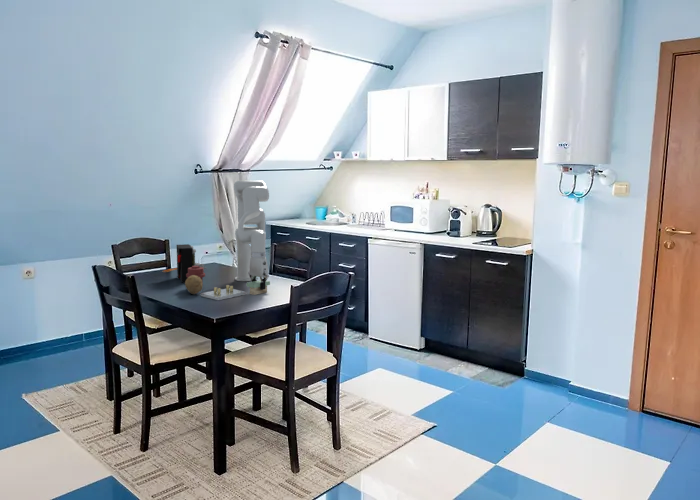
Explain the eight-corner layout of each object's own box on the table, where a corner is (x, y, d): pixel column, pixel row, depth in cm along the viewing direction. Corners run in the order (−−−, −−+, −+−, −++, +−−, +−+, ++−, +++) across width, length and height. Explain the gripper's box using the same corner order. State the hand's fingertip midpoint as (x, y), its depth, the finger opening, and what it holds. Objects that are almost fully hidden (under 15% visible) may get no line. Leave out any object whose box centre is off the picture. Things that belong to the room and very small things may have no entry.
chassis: (228, 290, 295) (228, 282, 294) (245, 294, 286) (245, 286, 285) (200, 296, 281) (200, 287, 280) (217, 300, 272) (217, 291, 272)
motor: (188, 267, 366) (187, 260, 365) (210, 271, 353) (209, 263, 352) (158, 277, 348) (157, 270, 347) (180, 282, 335) (179, 274, 334)
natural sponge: (187, 292, 290) (186, 273, 289) (204, 292, 291) (204, 273, 290) (183, 295, 281) (183, 276, 280) (201, 295, 282) (201, 276, 281)
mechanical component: (193, 286, 306) (208, 287, 303) (183, 289, 296) (199, 290, 294) (192, 264, 304) (208, 265, 301) (182, 267, 295) (198, 268, 292)
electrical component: (196, 282, 318) (196, 247, 315) (178, 283, 314) (177, 248, 311) (193, 276, 334) (192, 244, 331) (176, 277, 330) (175, 244, 327)
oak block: (262, 291, 295) (262, 283, 294) (267, 292, 293) (267, 284, 292) (249, 293, 288) (249, 286, 287) (254, 294, 286) (254, 287, 285)
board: (262, 283, 296) (262, 279, 296) (270, 284, 292) (270, 281, 292) (246, 286, 287) (246, 282, 287) (254, 287, 284) (254, 284, 283)
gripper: (274, 255, 285) (274, 289, 287) (252, 252, 296) (253, 285, 298) (264, 257, 279) (264, 292, 282) (241, 254, 290) (242, 287, 292)
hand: (258, 288), depth 290 cm, fingers closed on board, 6 cm apart
